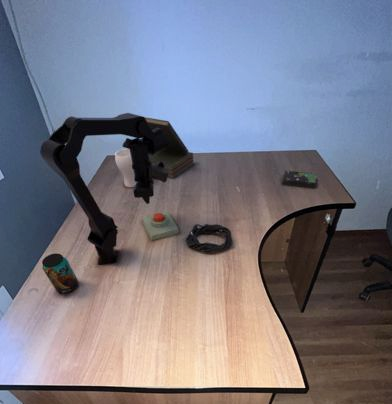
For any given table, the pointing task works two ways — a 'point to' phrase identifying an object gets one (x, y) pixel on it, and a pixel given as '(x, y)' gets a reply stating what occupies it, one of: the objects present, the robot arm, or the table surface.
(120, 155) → the white vase
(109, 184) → the table surface
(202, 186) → the table surface
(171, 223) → the green stepped base
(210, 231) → the cable
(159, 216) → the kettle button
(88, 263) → the table surface
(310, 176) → the disk drive
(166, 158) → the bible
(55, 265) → the beverage can
